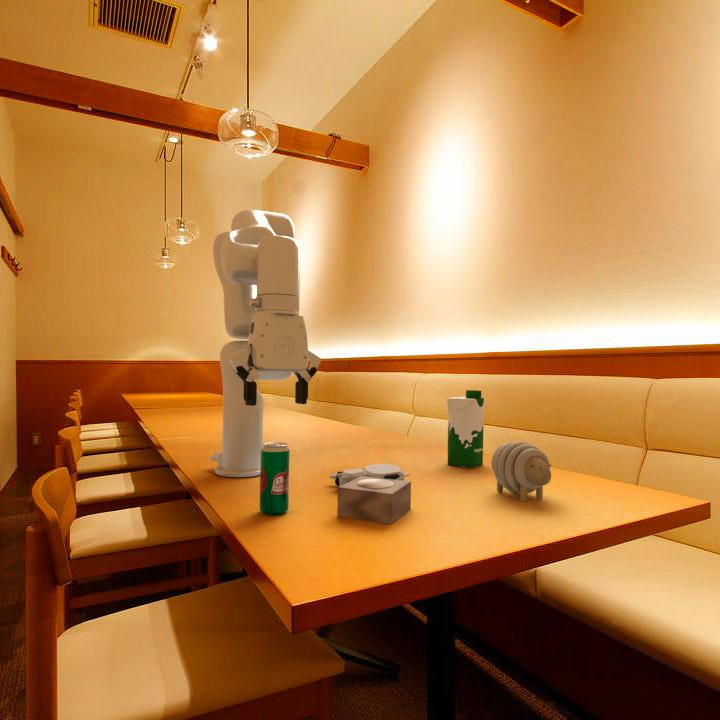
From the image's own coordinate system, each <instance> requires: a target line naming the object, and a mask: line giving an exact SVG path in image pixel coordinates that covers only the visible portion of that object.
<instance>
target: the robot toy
mask: <svg viewBox="0 0 720 720" xmlns="http://www.w3.org/2000/svg"><path fill="white" fill-rule="evenodd" d="M410 475H411V473H407V474H405V472H404V470H403V469H402V468H401V467H400V466H399V465H396V464H391V463H389V462H385V463H382V462H381V463H374V464H368V465H365V466H364V467H363V469H361V468H351V469H345V470H343V471H337V473H332V474H330V475H329V479H330V480H334V484H335V485H336V486H337V487H339V486H341V485H343V484H345V483H347V482H349V481H352V480H354V479H356V478H358V477H360V476H366V477H375V478H384V479H393V480H402V481H405V478H407V477H410Z"/></svg>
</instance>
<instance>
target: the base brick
mask: <svg viewBox="0 0 720 720" xmlns="http://www.w3.org/2000/svg"><path fill="white" fill-rule="evenodd" d="M411 495H412V481H410V480H409V481H408V480H404V481H402V480H393V479H384V478H375V477H366V476H360V477H358V478H356V479H354V480H352V481H349V482H347V483H345V484H343V485H341V486H337V514H336V515H337V517H343V518H349V519H353V520H361V521H369V522H376V523H381V524H388V525H393V524H394V523H395V522H397V520H399V519H401V517H402V516H404V515H405V514H406V513H408V512H409V511H410V510H411V504H412V503H411V502H412V501H411V500H412V499H411V498H412V496H411Z"/></svg>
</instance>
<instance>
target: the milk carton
mask: <svg viewBox="0 0 720 720" xmlns="http://www.w3.org/2000/svg"><path fill="white" fill-rule="evenodd" d="M446 399H447V401H446V402H447V465H449V466H453V467H461V468H469V469H473V468H474V469H475V468H476V467H479V466H481V465H484V421H485V420H484V418H485V417H484V416H485V414H484V413H485V407H486V406H485V405H486V398H485V397H482V390H473V389H471V390H470V389H466V390H465V396H456V397H447V398H446Z"/></svg>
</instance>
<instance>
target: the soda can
mask: <svg viewBox="0 0 720 720" xmlns="http://www.w3.org/2000/svg"><path fill="white" fill-rule="evenodd" d="M290 453H291V452H290V449H289V447H288V443H286V442H281V441H279V442H274V441H273V442H265V443H263V448H262V449H261V456H260V475H259V511H260V512H261V514H263V515H266V516H280V515H281V516H282V515H284V514H285V513H286V512H287V511H288V510H289V507H290V506H289V504H290V503H289V502H290V501H289V498H290Z"/></svg>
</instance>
